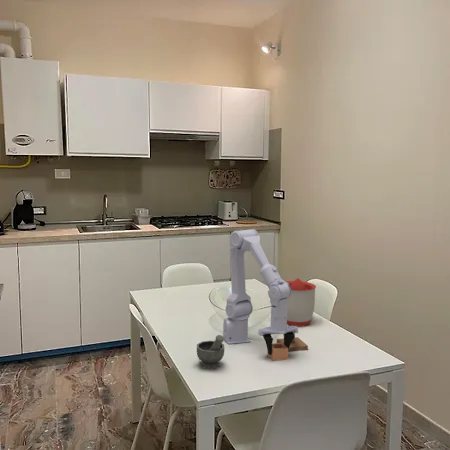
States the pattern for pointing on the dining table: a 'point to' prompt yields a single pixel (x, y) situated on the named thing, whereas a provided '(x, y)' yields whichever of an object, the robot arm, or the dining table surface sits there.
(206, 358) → the mortar and pestle
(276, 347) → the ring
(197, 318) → the dining table surface
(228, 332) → the robot arm
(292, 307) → the citrus juicer
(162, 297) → the dining table surface
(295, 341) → the post stand
